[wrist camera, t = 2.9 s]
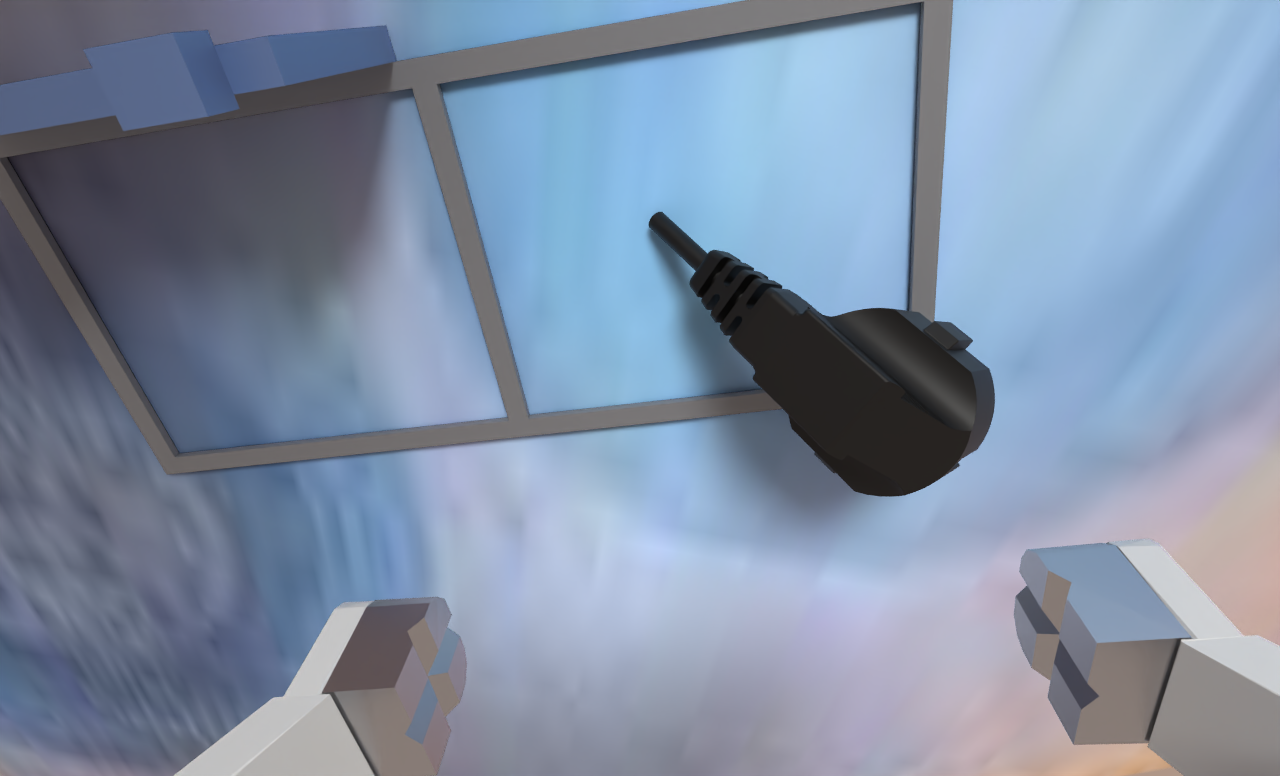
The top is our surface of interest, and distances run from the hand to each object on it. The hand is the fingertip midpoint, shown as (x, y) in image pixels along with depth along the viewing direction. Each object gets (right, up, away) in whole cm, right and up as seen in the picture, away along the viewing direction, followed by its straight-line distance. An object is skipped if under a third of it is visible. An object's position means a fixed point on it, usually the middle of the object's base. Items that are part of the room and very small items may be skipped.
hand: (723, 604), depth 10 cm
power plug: (+1, +9, +16) cm, 18 cm away
